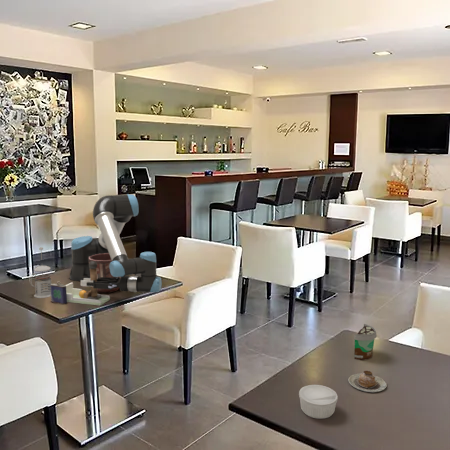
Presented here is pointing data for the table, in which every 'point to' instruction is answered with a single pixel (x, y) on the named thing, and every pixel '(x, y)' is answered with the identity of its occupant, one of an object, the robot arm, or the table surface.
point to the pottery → (102, 268)
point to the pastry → (367, 381)
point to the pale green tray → (75, 298)
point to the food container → (364, 343)
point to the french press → (45, 280)
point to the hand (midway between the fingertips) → (82, 282)
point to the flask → (58, 293)
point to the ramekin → (318, 401)
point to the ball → (82, 293)
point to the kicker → (93, 276)
